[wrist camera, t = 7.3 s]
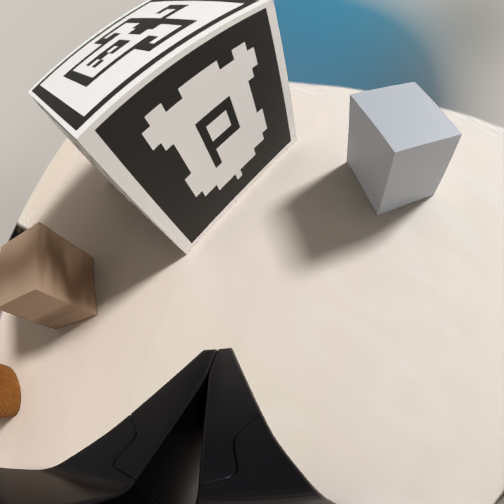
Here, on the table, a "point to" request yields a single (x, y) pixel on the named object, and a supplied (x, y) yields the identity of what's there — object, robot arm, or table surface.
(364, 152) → the slate block
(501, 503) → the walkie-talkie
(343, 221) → the table surface
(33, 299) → the walnut block
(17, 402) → the disposable coffee cup
